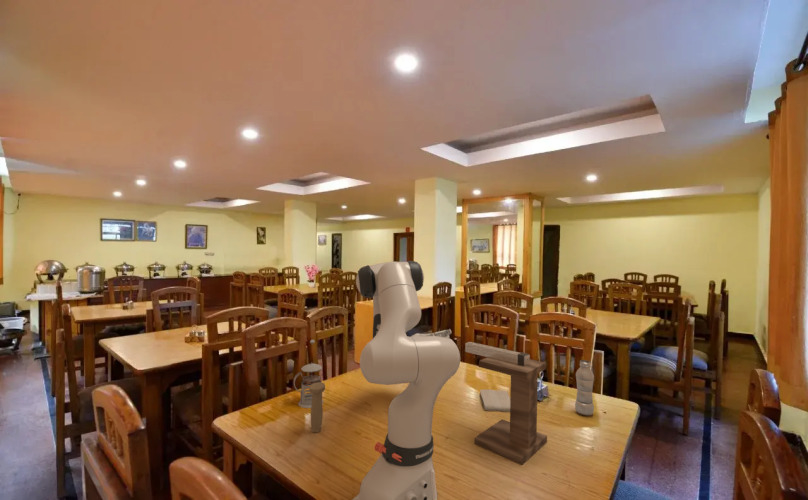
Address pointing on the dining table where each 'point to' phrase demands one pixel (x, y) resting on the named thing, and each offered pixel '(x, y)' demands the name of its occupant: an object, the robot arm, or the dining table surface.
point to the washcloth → (495, 400)
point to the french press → (307, 398)
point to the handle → (316, 406)
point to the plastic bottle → (584, 389)
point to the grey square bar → (498, 353)
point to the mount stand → (516, 413)
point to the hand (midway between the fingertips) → (442, 333)
